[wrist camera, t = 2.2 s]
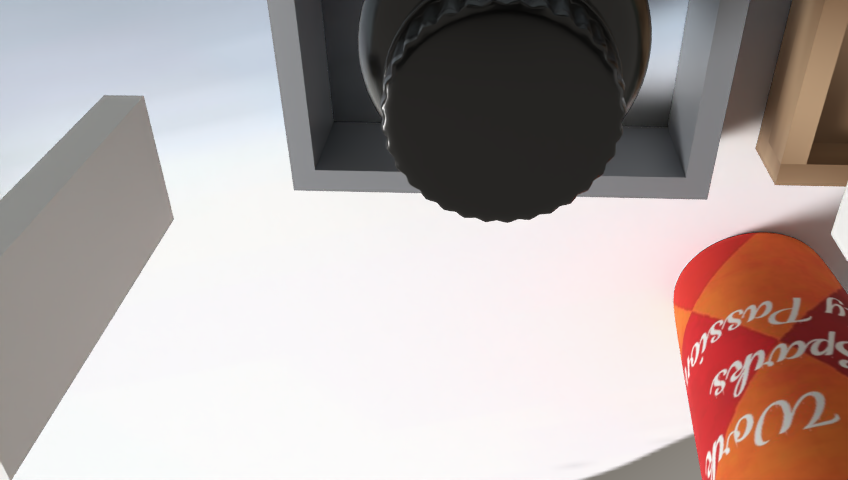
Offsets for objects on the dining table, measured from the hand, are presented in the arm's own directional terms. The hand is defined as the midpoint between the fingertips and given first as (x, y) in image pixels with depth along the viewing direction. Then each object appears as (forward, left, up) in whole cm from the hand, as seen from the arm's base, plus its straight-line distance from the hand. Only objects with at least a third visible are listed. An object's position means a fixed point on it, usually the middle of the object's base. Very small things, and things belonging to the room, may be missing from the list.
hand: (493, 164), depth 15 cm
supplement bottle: (0, 0, -13) cm, 13 cm away
